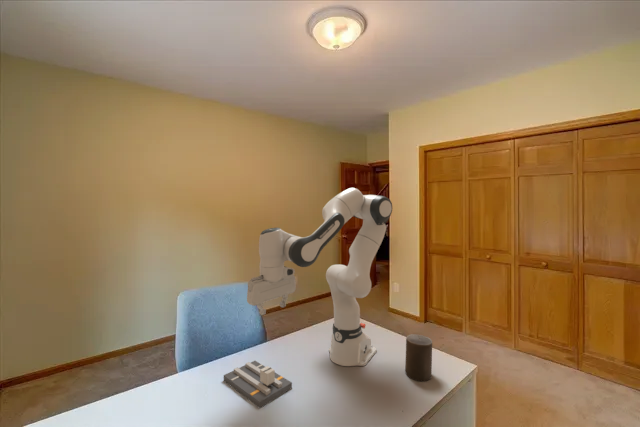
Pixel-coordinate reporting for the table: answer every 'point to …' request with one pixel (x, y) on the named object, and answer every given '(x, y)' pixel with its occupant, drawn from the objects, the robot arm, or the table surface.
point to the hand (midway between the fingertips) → (273, 310)
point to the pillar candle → (418, 357)
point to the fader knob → (267, 376)
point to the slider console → (256, 384)
